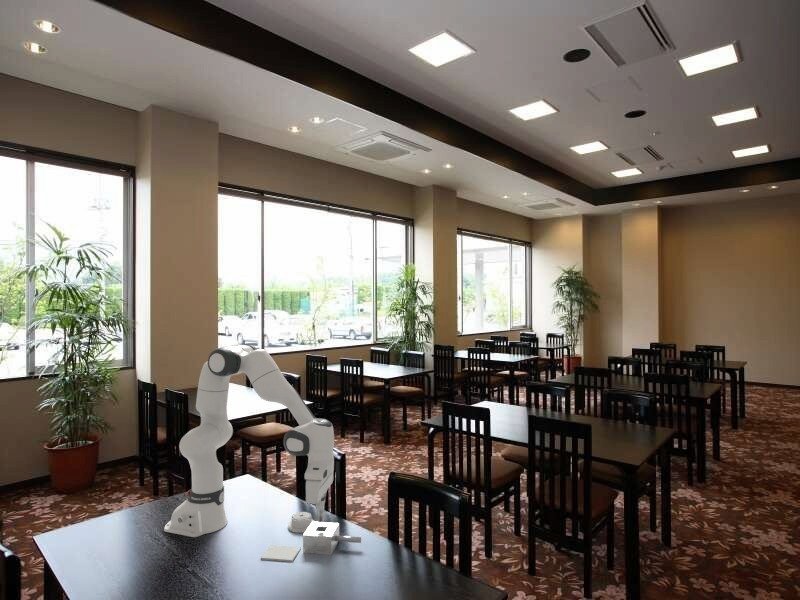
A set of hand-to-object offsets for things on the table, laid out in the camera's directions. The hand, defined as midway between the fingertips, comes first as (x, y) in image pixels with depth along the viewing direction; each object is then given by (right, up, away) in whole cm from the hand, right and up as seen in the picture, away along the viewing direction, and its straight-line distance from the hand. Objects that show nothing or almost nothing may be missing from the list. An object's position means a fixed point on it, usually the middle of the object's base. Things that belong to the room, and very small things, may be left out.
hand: (320, 505), depth 165 cm
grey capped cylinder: (0, -5, 0) cm, 5 cm away
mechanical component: (-10, -15, +14) cm, 23 cm away
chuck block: (+5, -14, -1) cm, 15 cm away
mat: (-12, -14, -5) cm, 20 cm away
